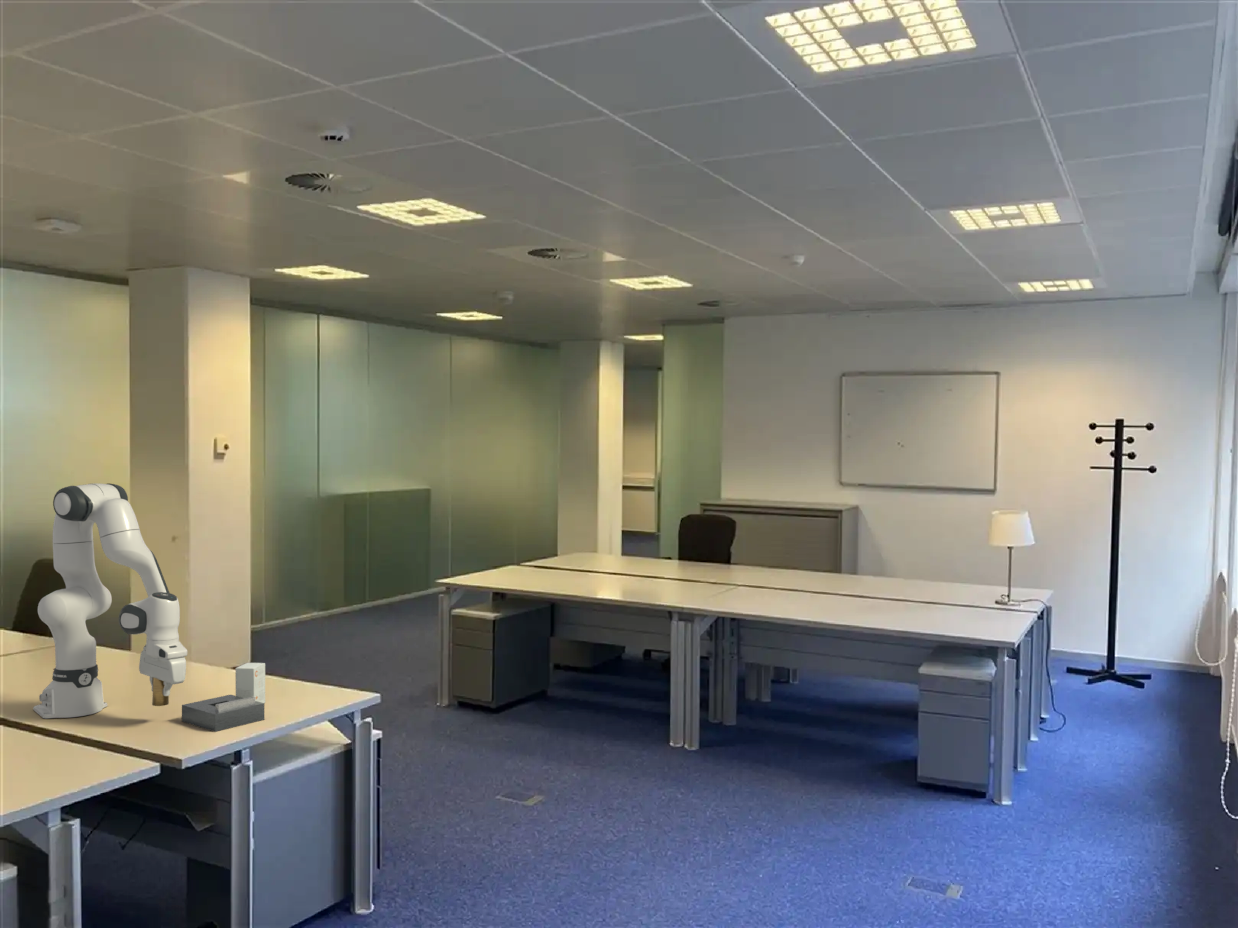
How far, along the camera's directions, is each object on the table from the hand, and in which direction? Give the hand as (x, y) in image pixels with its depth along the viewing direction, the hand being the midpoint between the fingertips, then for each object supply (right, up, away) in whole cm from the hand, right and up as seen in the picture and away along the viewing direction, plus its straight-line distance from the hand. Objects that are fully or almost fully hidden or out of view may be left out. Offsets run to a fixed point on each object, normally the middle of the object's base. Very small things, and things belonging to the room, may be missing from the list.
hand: (160, 693), depth 290 cm
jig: (+18, -9, +2) cm, 20 cm away
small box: (+19, -9, +20) cm, 29 cm away
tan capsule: (0, -3, 0) cm, 3 cm away
